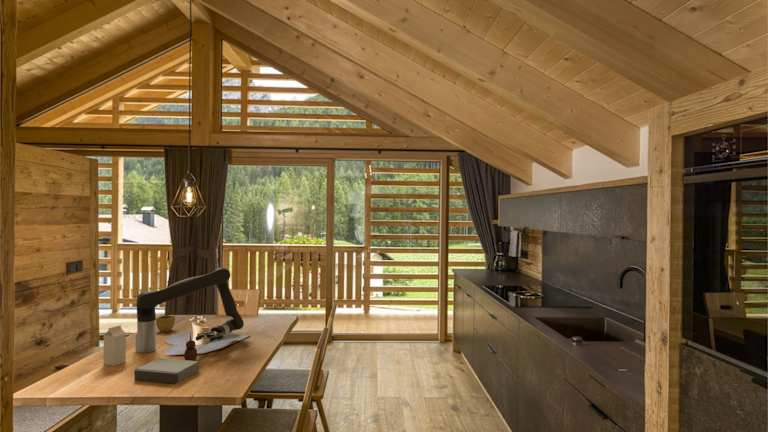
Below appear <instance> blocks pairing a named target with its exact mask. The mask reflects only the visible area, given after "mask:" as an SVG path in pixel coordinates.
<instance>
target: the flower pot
mask: <svg viewBox="0 0 768 432" xmlns="http://www.w3.org/2000/svg"><path fill="white" fill-rule="evenodd" d="M175 321H176V315H165V314H163V315H162V316H159V317H156V329H158V331H159V332H165V333H167V332H169V331H172V330H173V328H174V326H175V324H176V322H175Z"/></svg>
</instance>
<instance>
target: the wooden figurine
mask: <svg viewBox="0 0 768 432" xmlns="http://www.w3.org/2000/svg"><path fill="white" fill-rule="evenodd" d="M197 350H198V349H197V348H196V340H192V334H191V332H190V333H189V340H187V341H186V342H185V350H184V354H183V355H184V357H183V358H184V359H183V360H189V361H197V356H198V351H197Z"/></svg>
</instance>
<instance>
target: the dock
mask: <svg viewBox="0 0 768 432" xmlns="http://www.w3.org/2000/svg"><path fill="white" fill-rule="evenodd" d="M199 363H200V361H198V360H196V361H189V360H185V359H176V358H164V357H163V358H162V357H159V358H157V359H155V360H152V361H150V362H148V363H145V364H143V365H141V366H139V367H137V368H136V369H134V370H133V371H134V373H133V375H134V376H133V377H134V380H135V381H141V382H142V381H143V382H152V381H153V382H154V383H155V382H156V383H162V382H165V384H173V385H176V384H179V383H181V382H183V381H185V380H186V379H188V378H190V377H191V376H193V375H195V374H197V373H198V372H199V371H200V368H199V367H200V365H199ZM184 379H185V380H184ZM153 382H152V383H153Z"/></svg>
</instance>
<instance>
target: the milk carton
mask: <svg viewBox="0 0 768 432" xmlns="http://www.w3.org/2000/svg"><path fill="white" fill-rule="evenodd" d="M126 336H127V334H126V332H125V331H124V330H123V328H122V324H119V325H115V326H112V327H108V330H107V332H106V333H105V334H104V335H103V365H107V366H113V367H115V366H117V365H121V364H123V363H126V361H127V360H126V359H127V357H126V356H127V355H126V354H127V349H126V348H127V346H126V345H127V339H126Z"/></svg>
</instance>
